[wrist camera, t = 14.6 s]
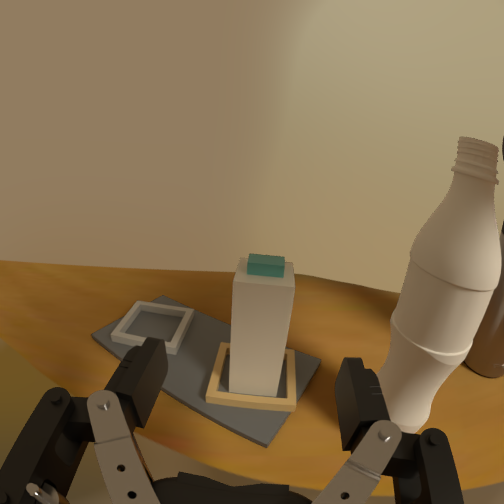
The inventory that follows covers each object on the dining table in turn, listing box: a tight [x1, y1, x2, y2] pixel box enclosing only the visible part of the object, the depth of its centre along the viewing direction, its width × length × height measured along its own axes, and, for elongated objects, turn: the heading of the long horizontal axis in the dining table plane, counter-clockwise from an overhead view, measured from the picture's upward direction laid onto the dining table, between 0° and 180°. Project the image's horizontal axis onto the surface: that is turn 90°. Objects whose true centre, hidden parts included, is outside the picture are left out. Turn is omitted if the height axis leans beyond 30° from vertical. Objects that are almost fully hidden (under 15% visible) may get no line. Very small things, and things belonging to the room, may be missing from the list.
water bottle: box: [376, 137, 501, 434], centre depth 18 cm, size 7×7×25 cm
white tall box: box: [229, 254, 295, 397], centre depth 25 cm, size 4×4×13 cm
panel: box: [91, 295, 321, 448], centre depth 31 cm, size 13×25×2 cm, turn 60°
